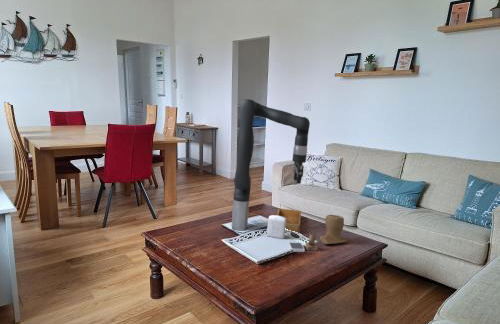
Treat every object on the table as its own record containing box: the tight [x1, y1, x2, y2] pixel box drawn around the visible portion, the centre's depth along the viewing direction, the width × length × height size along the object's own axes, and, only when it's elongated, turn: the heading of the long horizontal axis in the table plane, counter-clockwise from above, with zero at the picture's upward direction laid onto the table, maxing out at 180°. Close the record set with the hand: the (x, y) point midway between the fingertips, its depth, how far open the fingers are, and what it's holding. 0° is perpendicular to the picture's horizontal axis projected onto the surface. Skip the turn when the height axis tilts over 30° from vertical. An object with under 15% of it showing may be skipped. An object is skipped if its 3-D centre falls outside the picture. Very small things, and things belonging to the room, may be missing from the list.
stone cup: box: [319, 214, 347, 245], centre depth 192 cm, size 15×12×15 cm
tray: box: [276, 208, 302, 234], centre depth 217 cm, size 31×15×6 cm, turn 170°
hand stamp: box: [305, 234, 318, 252], centre depth 180 cm, size 5×5×8 cm
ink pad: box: [287, 242, 306, 253], centre depth 180 cm, size 7×8×2 cm
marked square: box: [304, 246, 322, 253], centre depth 181 cm, size 8×8×1 cm
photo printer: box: [266, 214, 286, 240], centre depth 194 cm, size 10×4×12 cm, turn 72°
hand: (297, 181), depth 194 cm, fingers open, 8 cm apart
